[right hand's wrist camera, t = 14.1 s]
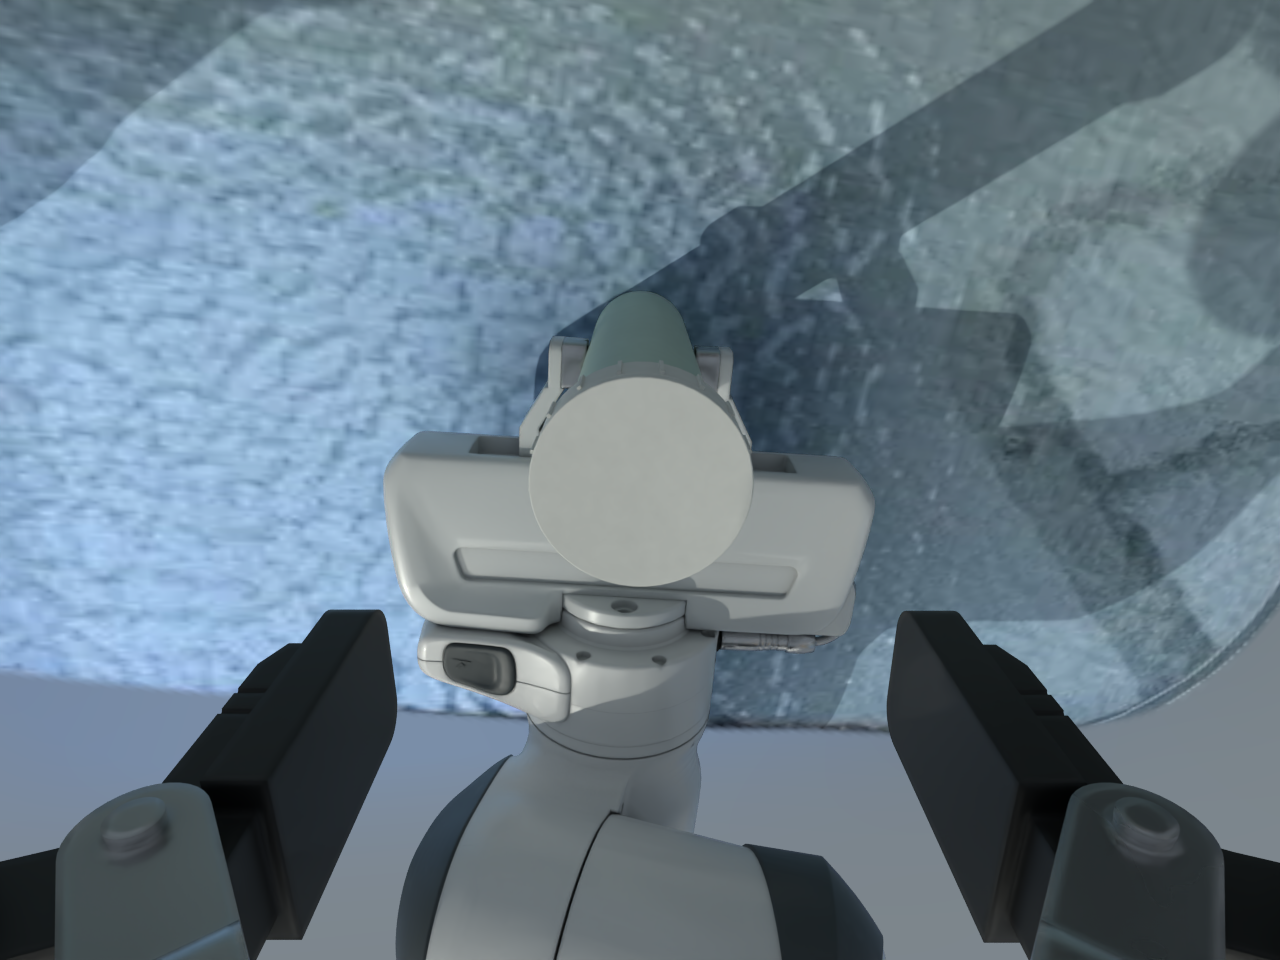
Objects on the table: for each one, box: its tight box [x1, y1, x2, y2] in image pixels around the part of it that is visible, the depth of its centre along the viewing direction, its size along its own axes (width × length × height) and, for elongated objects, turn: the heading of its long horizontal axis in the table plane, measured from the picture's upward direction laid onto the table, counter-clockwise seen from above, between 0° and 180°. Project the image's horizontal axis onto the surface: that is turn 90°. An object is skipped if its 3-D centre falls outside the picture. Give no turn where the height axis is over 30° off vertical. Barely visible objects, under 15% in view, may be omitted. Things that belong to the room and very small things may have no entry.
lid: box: [528, 360, 754, 586], centre depth 19 cm, size 6×6×2 cm
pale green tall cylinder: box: [578, 291, 703, 381], centre depth 28 cm, size 4×4×19 cm
